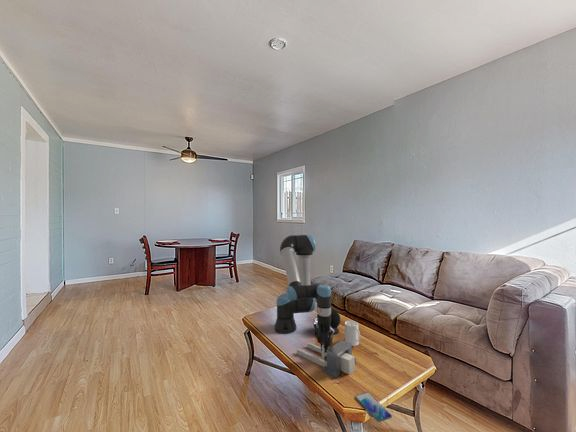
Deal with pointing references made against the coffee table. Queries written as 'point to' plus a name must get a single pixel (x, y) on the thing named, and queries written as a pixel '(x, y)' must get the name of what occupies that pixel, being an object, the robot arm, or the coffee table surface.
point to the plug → (346, 363)
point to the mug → (352, 333)
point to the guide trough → (312, 357)
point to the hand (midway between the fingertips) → (324, 357)
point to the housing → (336, 358)
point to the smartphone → (373, 407)
